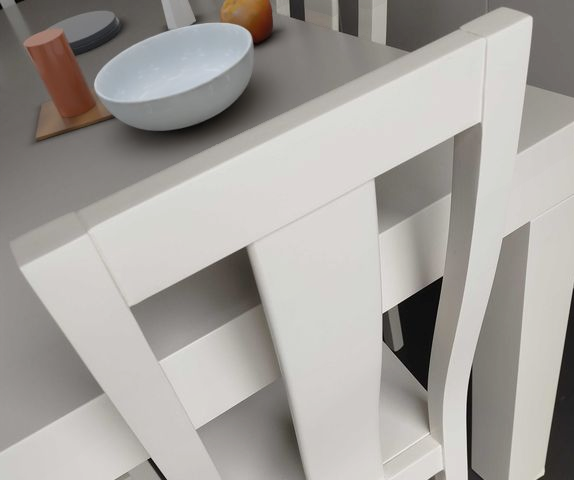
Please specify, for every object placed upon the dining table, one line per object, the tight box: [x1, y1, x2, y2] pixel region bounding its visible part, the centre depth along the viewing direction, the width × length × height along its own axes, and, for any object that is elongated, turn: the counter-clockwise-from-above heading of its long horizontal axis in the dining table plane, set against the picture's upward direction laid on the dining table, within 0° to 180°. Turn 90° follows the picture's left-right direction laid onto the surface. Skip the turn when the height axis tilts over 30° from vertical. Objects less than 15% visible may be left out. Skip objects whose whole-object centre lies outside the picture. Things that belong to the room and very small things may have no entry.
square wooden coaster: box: [34, 87, 116, 142], centre depth 87 cm, size 12×12×1 cm
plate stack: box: [45, 10, 122, 56], centre depth 109 cm, size 16×16×2 cm
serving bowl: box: [93, 22, 255, 132], centre depth 77 cm, size 21×21×7 cm
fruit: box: [219, 0, 274, 44], centre depth 90 cm, size 8×8×8 cm
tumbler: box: [23, 28, 96, 118], centre depth 83 cm, size 6×6×10 cm
